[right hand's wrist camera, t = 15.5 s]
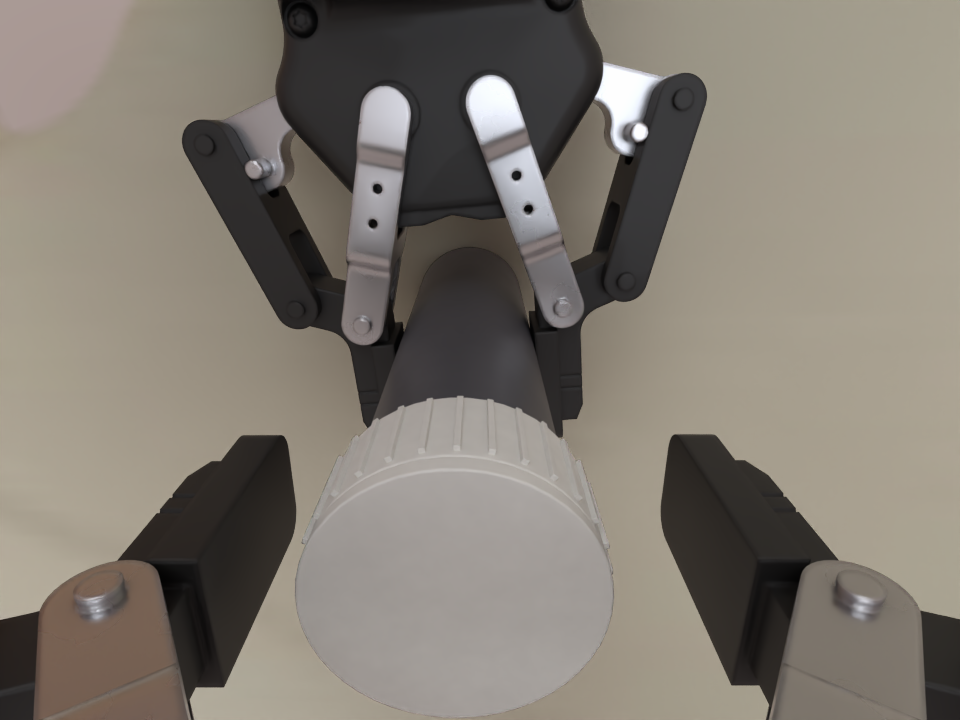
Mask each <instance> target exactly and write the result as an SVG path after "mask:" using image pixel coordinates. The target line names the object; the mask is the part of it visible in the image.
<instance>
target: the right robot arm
mask: <svg viewBox="0 0 960 720" xmlns="http://www.w3.org/2000/svg"><path fill="white" fill-rule="evenodd" d="M661 522H662V529H663V533H664V536H665V539H666V541H667V543H668V545H669V548H670V550H671V552H672V554H673V557H674V559H675V561H676V563H677V565H678V568H679V570H680V572H681V574H682V577H683V579H684V581H685V583H686V585H687V588H688V590H689V592H690V594H691V596H692V599H693V601H694V603H695V605H696V608H697V610H698V612H699V614H700V616H701V619H702V621H703V623H704V625H705V628H706V630H707V632H708V634H709V636H710V639H711V641H712V643H713V645H714V648H715V650H716V652H717V654H718V656H719V659H720V661H721V663H722V665H723V667H724V670H725V672H726V674H727V676H728V679H729V681H730V683H731V685H760V687H761V689H762V691H763V693H764V695H765V697H766V699H767V701H768V703H769V708H768V712H767V716H766V720H960V619H956V618H951V617H947V616H942V615H937V614H933V613H928V612H924V611H920V609H919V607H918V605H917V603H916V602H915V600H914V599H913V598H912V596H911V595H910V594H909V593H908V592H907V591H906V590H905V589H903V588H902V587H901V586H900V585H898V584H897V583H896V582H894V581H893V580H891V579H890V578H888V577H886V576H884V575H883V574H881V573H879V572H876V571H874V570H872V569H870V568H867V567H864V566H861V565H858V564H854V563H851V562H845V561H839V560H838V559H837V558H836V556H835V555H834V554H833V553H832V552H831V550H830V549H829V548H828V547H827V545H826V544H825V543H824V542H823V541H822V539H821V538H820V537H819V536H818V535H817V533H816V532H815V531H814V530H813V529H812V527H811V526H810V525H809V524H808V523H807V521H806V520H805V519H804V518H803V517H802V515H801V514H800V513H799V512H796V508H795V507H794V506H793V504H792V503H791V502H790V501H789V500H788V498H787V497H784V496H783V492H782V491H781V490H780V489H779V488H778V486H777V485H776V484H775V483H774V482H773V480H772V479H771V478H770V477H769V476H768V475H767V474H765V473H764V472H762V471H761V470H759V469H757V468H756V467H754V466H753V465H751V464H750V463H748V462H747V461H745V460H735V459H734V458H733V457H732V455H731V454H730V453H729V452H728V450H727V449H726V448H725V446H724V445H723V444H722V442H721V441H720V440H719V439H718V437H717V436H715V435H712V434H675V435H673V436H672V437H671V440H670V443H669V447H668V455H667V462H666V470H665V478H664V485H663V493H662V500H661ZM295 523H296V502H295V494H294V487H293V479H292V472H291V464H290V457H289V449H288V444H287V441H286V439H285V437H284V436H282V435H243V436H241V437H240V438H239V439H238V440H237V441H236V443H235V444H234V445H233V446H232V448H231V449H230V450H229V452H228V453H227V454H226V455H225V457H224V458H223V459H222V461H211V462H210V463H208V464H207V465H205V466H203V467H202V468H200V469H199V470H197V471H196V472H194V473H193V474H191V475H189V476H188V477H187V478H186V479H185V480H184V482H183V483H182V484H181V485H180V486H179V487H178V489H177V490H176V491H175V492H174V493H173V497H172V498H169V499H168V501H167V502H166V503H165V504H164V505H163V507H162V508H161V509H160V513H157V514H156V515H155V516H154V517H153V519H152V520H151V521H150V522H149V523H148V525H147V526H146V527H145V528H144V529H143V531H142V532H141V533H140V534H139V535H138V536H137V538H136V539H135V540H134V541H133V542H132V544H131V545H130V546H129V547H128V548H127V550H126V551H125V552H124V553H123V554H122V556H121V557H120V558H119V559H118V560H117V561H115V562H109V563H106V564H102V565H99V566H96V567H93V568H90V569H88V570H86V571H84V572H81V573H79V574H77V575H76V576H74V577H72V578H70V579H69V580H67V581H66V582H64V583H63V584H62V585H60V586H59V587H58V588H57V589H55V590H54V591H53V592H52V593H51V594H50V595H49V596H48V598H47V599H46V600H45V602H44V603H43V605H42V607H41V609H40V611H38V612H34V613H30V614H26V615H21V616H17V617H12V618H8V619H3V620H0V720H194V716H193V712H192V708H191V704H190V698H191V696H192V694H193V692H194V690H195V688H196V687H224V686H225V684H226V682H227V680H228V677H229V675H230V673H231V671H232V669H233V666H234V664H235V662H236V660H237V658H238V656H239V653H240V651H241V649H242V647H243V645H244V642H245V640H246V638H247V636H248V634H249V631H250V629H251V627H252V625H253V623H254V621H255V618H256V616H257V614H258V612H259V610H260V607H261V605H262V603H263V601H264V599H265V596H266V594H267V592H268V590H269V588H270V586H271V583H272V581H273V579H274V577H275V575H276V572H277V570H278V568H279V566H280V564H281V562H282V559H283V557H284V555H285V553H286V551H287V548H288V546H289V544H290V542H291V539H292V537H293V534H294V529H295Z"/></svg>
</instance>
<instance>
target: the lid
mask: <svg viewBox="0 0 960 720" xmlns="http://www.w3.org/2000/svg"><path fill="white" fill-rule="evenodd" d="M302 544H306V546H305V548H304V551H303V553H302V556H301V558H300V561H299V564H298V569H297V574H296V580H295V599H296V606H297V613H298V616H299V620H300V623H301V626H302V629H303V631H304V633H305V635H306V637H307V640H308V642H309V644H310V645H311V647H312V648H313V650H314V651H315V652H316V654H317V655H318V657H319V658H320V659H321V660H322V662H323V663H324V664H325V665H326V666H327V667H328V668H329V669H330V670H331V671H332V672H333V673H334V674H335V675H336V676H338V677H339V678H340V679H341V680H342V681H343V682H345V683H346V684H348V685H349V686H351V687H352V688H354V689H355V690H356V691H358V692H360V693H362V694H363V695H365V696H367V697H369V698H371V699H373V700H375V701H377V702H380V703H382V704H385V705H387V706H390V707H393V708H396V709H399V710H403V711H406V712H410V713H415V714H420V715H425V716H434V717H444V718H469V717H480V716H488V715H493V714H498V713H503V712H507V711H510V710H514V709H517V708H520V707H523V706H525V705H528V704H530V703H533V702H535V701H538V700H540V699H542V698H543V697H545V696H547V695H549V694H551V693H553V692H554V691H556V690H557V689H559V688H560V687H562V686H563V685H565V684H566V683H567V682H569V681H570V680H571V679H572V678H573V677H574V676H575V675H577V674H578V673H579V672H580V671H581V670H582V669H583V668H584V666H585V665H586V664H587V663H588V662H589V661H590V660H591V658H592V657H593V655H594V654H595V652H596V651H597V649H598V648H599V646H600V645H601V643H602V640H603V638H604V636H605V634H606V632H607V629H608V626H609V622H610V619H611V615H612V610H613V601H614V588H613V578H612V574H613V568H612V565H611V561H610V558H609V555H608V551H607V549H608V548H610V546H609V542H608V539H607V536H606V532H605V529H604V526H603V523H602V520H601V516H600V513H599V510H598V507H597V503H596V500H595V497H594V494H593V490H592V487H591V484H590V482H588V481H587V478H586V475H585V471H584V468H583V465H582V462H581V461H580V459H579V460H577V461H576V460H575V458H574V457H573V455H572V453H571V452H570V450H569V447H568V443H567V441H566V440H565V439H562V440H560V439H559V438H558V437H557V436H556V435H555V434H554V433H553V432H552V431H551V430H550V429H549V428H548V427H547V424H546V423H545V422H543V421H542V422H541V423H540V422H539V421H537V420H536V419H534V418H532V417H531V416H529V415H527V414H525V413H523V412H522V409H520V408H517V407H516V409H514V408H511V407H509V406H506V405H503V404H500V403H496V402H494V400H492V399H487V400H482V399H474V398H463V396H457V398H442V399H433V398H428V399H427V401H424V402H420V403H416V404H412V405H410V406H407V407H404V405H403V406H400V407H398V410H396V411H395V412H393V413H391V414H389V415H387V416H385V417H383V418H381V419H380V420H379V419H378V418H376V419H375V420H373V422H372V425H371V426H370V427H369V428H367V429H366V430H365V431H364V432H363V433H362V434H361V435H360V436H359V437H358V436H357V435H355V436H354V437H353V438H352V440H351V442H350V445H349V447H348V450H347V451H346V453H345V455H344V456H343V457H342V456H340V455H339V456H338V458H337V460H336V462H335V464H334V467H333V469H332V471H331V474H330V476H329V478H328V480H327V483H326V485H325V487H324V490H323V492H322V494H321V497H320V499H319V501H318V504H317V506H316V508H315V511H314V513H313V516H312V518H311V520H310V523H309V525H308V527H307V530H306V532H305V534H304V537H303V539H302Z"/></svg>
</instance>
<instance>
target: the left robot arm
mask: <svg viewBox="0 0 960 720" xmlns="http://www.w3.org/2000/svg"><path fill="white" fill-rule="evenodd" d="M278 4H279V9H280V13H281V18H282V23H283V29H284V51H283V57H282V62H281V65H280V69H279V71H278V75H277V79H276V95H275V96H273V97H271V98H269V99H267V100H265V101H263V102H261V103H259V104H257V105H255V106H252V107H250V108H248V109H246V110H244V111H242V112H240V113H238V114H236V115H234V116H232V117H230V118H228V119H225V120H197V121H194V122H192V123H190V124H189V125H188V126H187V127H186V129H185V130H184V133H183V136H182V145H183V149H184V152H185V154H186V156H187V157H188V159H189V161H190V163H191V164H192V166H193V168H194V170H195V171H196V173H197V175H198V177H199V179H200V180H201V182H202V184H203V186H204V187H205V189H206V191H207V193H208V194H209V196H210V198H211V200H212V201H213V203H214V205H215V207H216V209H217V210H218V212H219V214H220V216H221V217H222V219H223V221H224V223H225V224H226V226H227V228H228V230H229V231H230V233H231V235H232V237H233V239H234V240H235V242H236V244H237V246H238V247H239V249H240V251H241V253H242V254H243V256H244V258H245V260H246V262H247V263H248V265H249V267H250V269H251V270H252V272H253V274H254V276H255V277H256V279H257V281H258V283H259V284H260V286H261V288H262V290H263V292H264V293H265V295H266V297H267V299H268V300H269V302H270V304H271V306H272V307H273V309H274V311H275V313H276V315H277V316H278V318H279V319H280V321H281V322H282V323H283V324H285V325H286V326H288V327H290V328H293V329H304V328H307V327H309V326H312V327H316V328H320V329H324V330H328V331H331V332H334V333H336V334H338V335H339V336H341V337H342V338H343V339H344V340H345V341H346V342H347V344H348V346H349V348H350V351H351V356H352V361H353V367H354V372H355V378H356V383H357V389H358V392H359V400H360V404H361V411H362V417H363V422H364V423H365V425H366V426H367V428H369V427H370V426H371V423H372V421H373V418H374V415H375V412H376V409H377V407H378V404H379V401H380V398H381V396H382V393H383V390H384V387H385V384H386V382H387V379H388V376H389V373H390V370H391V368H392V365H393V362H394V359H395V356H396V354H397V351H398V348H399V345H400V343H401V340H402V337H403V334H404V329H403V323H402V322H395V321H394V314H393V309H394V305H395V298H396V291H397V284H398V278H399V271H400V264H401V258H402V253H403V249H404V245H405V240H406V234H407V227H410V226H420V225H426V224H428V223H431V222H434V221H436V220H439V219H441V218H444V217H447V216H450V215H457V216H462V217H468V218H474V219H479V220H485V219H496V218H507V220H508V223H509V226H510V228H511V231H512V234H513V236H514V239H515V242H516V244H517V247H518V250H519V252H520V255H521V258H522V260H523V263H524V265H525V268H526V271H527V274H528V276H529V279H530V282H531V284H532V287H533V290H534V299H535V311H529V322H530V332H531V336H532V340H533V344H534V348H535V352H536V356H537V360H538V364H539V368H540V372H541V376H542V380H543V384H544V388H545V392H546V396H547V401H548V405H549V409H550V413H551V417H552V421H553V425H554V429H555V433H556V436H557V437H558V438H560V437H563V425H562V420H568V419H577V417H578V414H579V412H580V409H581V407H582V404H583V398H582V375H581V373H582V367H581V336H580V332H581V326H582V323H583V321H584V319H585V318H586V316H587V315H588V314H589V313H590V312H592V311H593V310H595V309H596V308H598V307H601V306H603V305H605V304H608V303H610V302H612V301H614V300H617V301H620V302H627V301H631V300H634V299H636V298H637V297H639V296H640V295H641V294H642V293H643V291H644V290H645V287H646V285H647V282H648V279H649V276H650V273H651V270H652V267H653V264H654V261H655V257H656V254H657V251H658V248H659V245H660V242H661V239H662V236H663V233H664V230H665V227H666V224H667V221H668V218H669V215H670V212H671V209H672V206H673V202H674V199H675V196H676V193H677V190H678V187H679V184H680V181H681V178H682V175H683V172H684V169H685V166H686V163H687V160H688V157H689V154H690V150H691V147H692V144H693V141H694V138H695V135H696V132H697V129H698V126H699V123H700V120H701V117H702V114H703V111H704V108H705V105H706V100H707V92H706V88H705V85H704V83H703V82H702V80H701V79H700V78H699V77H697V76H696V75H693V74H690V73H681V74H672V75H668V76H665V77H663V76H658V75H654V74H650V73H646V72H642V71H638V70H634V69H630V68H626V67H622V66H618V65H614V64H609V63H605V62H603V57H602V53H601V50H600V47H599V45H598V43H597V41H596V39H595V37H594V36H593V34H592V32H591V30H590V28H589V26H588V23H587V21H586V18H585V14H584V11H583V6H582V0H278ZM592 102H593V103H595V104H596V105H597V106H598V107H599V108H600V109H601V110H602V112H603V115H604V118H605V129H604V138H605V142H606V144H607V146H608V147H609V148H610V149H611V150H612V151H613V152H615V153H617V154H620V157H619V160H618V164H617V167H616V171H615V174H614V177H613V181H612V184H611V188H610V191H609V195H608V198H607V202H606V205H605V209H604V212H603V216H602V219H601V223H600V226H599V230H598V233H597V237H596V240H595V244H594V247H593V251H592V254H589V255H587V256H585V257H583V258H581V259H578V260H576V261H574V262H572V263H570V260H569V258H568V255H567V252H566V249H565V245H564V240H563V237H562V233H561V230H560V227H559V224H558V221H557V219H556V216H555V213H554V210H553V207H552V204H551V201H550V198H549V195H548V192H547V189H546V186H545V183H544V180H545V179H546V177H547V175H548V174H549V172H550V171H551V169H552V167H553V166H554V164H555V162H556V161H557V159H558V157H559V156H560V154H561V152H562V151H563V149H564V148H565V146H566V144H567V143H568V141H569V139H570V138H571V136H572V134H573V133H574V131H575V129H576V128H577V126H578V125H579V123H580V121H581V120H582V118H583V116H584V115H585V113H586V111H587V110H588V108H589V107H590V105H591V103H592ZM296 133H297V134H298V135H299V137H300V138H301V139H302V140H303V141H304V142H305V143H306V144H307V145H308V146H309V147H310V149H311V150H312V151H313V152H314V153H315V154H316V155H317V156H318V157H319V158H320V159H321V160H322V162H323V163H324V164H325V165H326V166H327V167H328V168H329V169H330V170H331V171H332V172H333V173H334V175H335V176H336V177H337V178H338V179H339V180H340V181H341V182H342V183H343V184H344V185H345V186H346V188H347V189H348V190H349V191H350V192H351V193H352V194H353V198H352V206H351V215H350V224H349V233H348V241H347V250H346V261H347V264H348V270H347V279H346V281H344V280H340V279H336V278H333V277H332V275H331V273H330V271H329V269H328V268H327V266H326V264H325V262H324V260H323V258H322V256H321V254H320V252H319V250H318V248H317V246H316V244H315V242H314V241H313V239H312V237H311V235H310V233H309V231H308V229H307V227H306V225H305V223H304V221H303V219H302V217H301V215H300V213H299V212H298V210H297V208H296V206H295V204H294V202H293V200H292V198H291V196H290V194H289V192H288V190H287V188H286V186H285V185H287V184H288V183H289V182H290V181H291V179H292V177H293V175H294V162H293V159H292V156H291V152H290V146H291V141H292V139H293V137H294V135H295V134H296Z"/></svg>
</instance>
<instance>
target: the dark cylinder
mask: <svg viewBox="0 0 960 720" xmlns="http://www.w3.org/2000/svg"><path fill="white" fill-rule="evenodd" d="M457 396H463V398H474V399H482V400H487V399H492V400H494V402H496V403H500V404H503V405H506V406H509V407H511V408H514V409H516V407H517V408H520V409H522V412H523V413H525V414H527V415H529V416H531V417H532V418H534V419H536V420H537V421H539V422H540V423H541V422H542V421H543V422H545V423H546V424H547V427H548V428H549V429H550V430H551V431H552V432H553V433H554V434H555V435H556V433H555V429H554V425H553V421H552V417H551V413H550V409H549V405H548V401H547V396H546V392H545V388H544V384H543V380H542V376H541V372H540V368H539V364H538V360H537V356H536V352H535V348H534V344H533V340H532V336H531V332H530V328H529V324H528V320H527V315H526V311H525V307H524V303H523V299H522V295H521V291H520V287H519V283H518V280H517V278H516V275H515V274H514V272H513V270H512V269H511V267H510V266H509V265H508V264H507V263H506V262H505V261H504V260H503V259H502V258H500V257H499V256H498V255H496V254H494V253H492V252H490V251H487V250H484V249H480V248H473V247H469V248H459V249H456V250H452V251H450V252H448V253H446V254H444V255H442V256H441V257H440V258H438V259H437V260H436V261H435V262H434V263H433V264H432V265H431V266H430V268H429V269H428V270H427V272H426V274H425V276H424V278H423V281H422V284H421V287H420V290H419V292H418V295H417V298H416V301H415V303H414V306H413V309H412V312H411V315H410V317H409V320H408V323H407V326H406V329H405V331H404V334H403V337H402V340H401V343H400V345H399V348H398V351H397V354H396V356H395V359H394V362H393V365H392V368H391V370H390V373H389V376H388V379H387V382H386V384H385V387H384V390H383V393H382V396H381V398H380V401H379V404H378V407H377V409H376V412H375V415H374V418H373V420H375V419H376V418H378V419H379V420H380V419H381V418H383V417H385V416H387V415H389V414H391V413H393V412H395V411H396V410H398V407H400V406H403V405H404V407H407V406H410V405H412V404H416V403H420V402H424V401H427V399H428V398H433V399H442V398H457ZM372 422H373V421H372ZM371 425H372V423H371Z"/></svg>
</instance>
